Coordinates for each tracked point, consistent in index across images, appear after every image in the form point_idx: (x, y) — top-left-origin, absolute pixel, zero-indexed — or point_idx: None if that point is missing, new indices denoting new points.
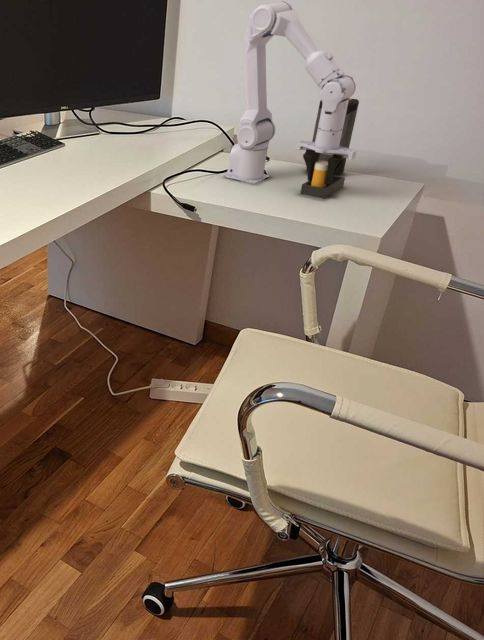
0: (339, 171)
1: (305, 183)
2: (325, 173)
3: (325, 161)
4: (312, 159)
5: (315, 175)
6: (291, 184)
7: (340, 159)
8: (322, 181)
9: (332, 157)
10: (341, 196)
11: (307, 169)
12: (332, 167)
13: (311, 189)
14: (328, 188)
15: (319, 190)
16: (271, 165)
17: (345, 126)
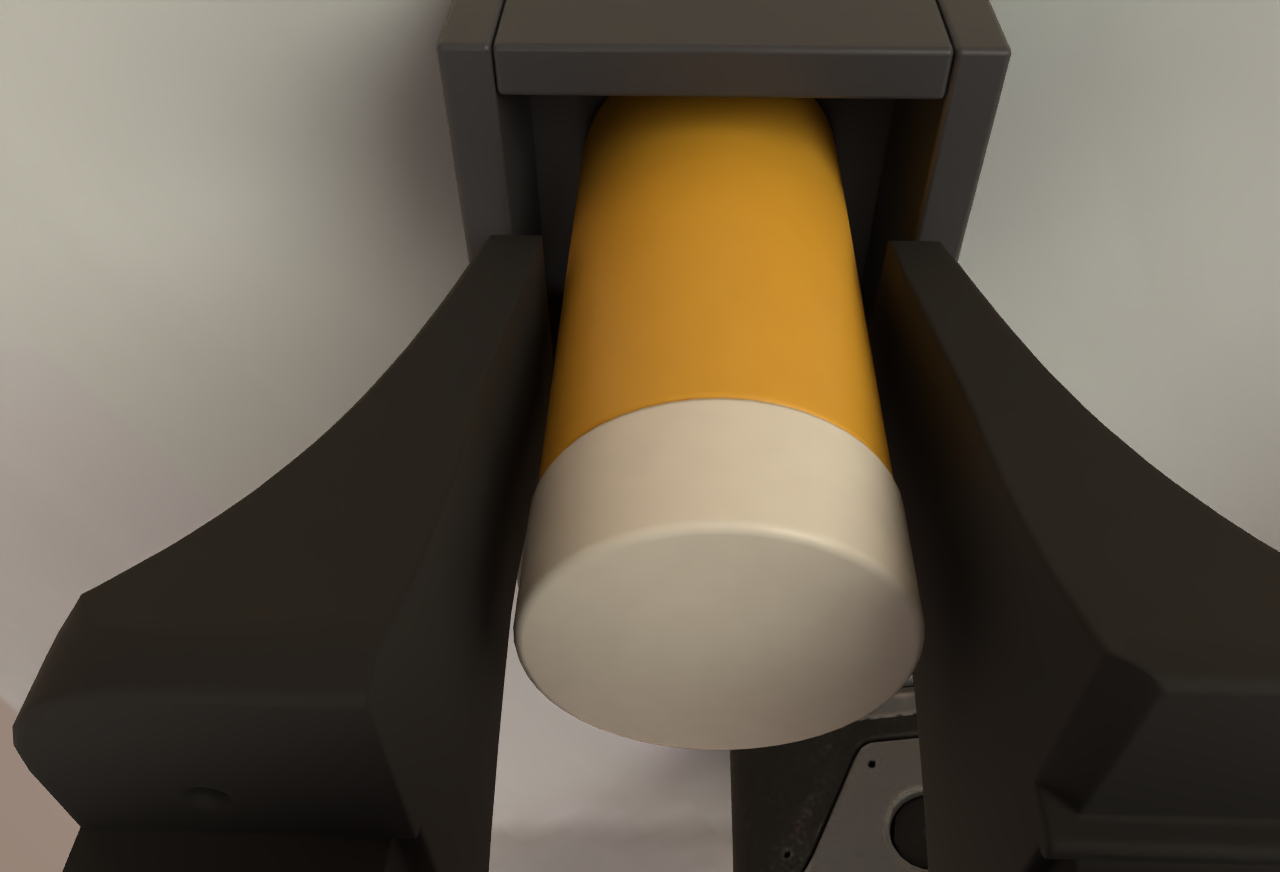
0: (746, 774)
1: (953, 141)
2: (562, 404)
3: (712, 728)
4: (1027, 640)
5: (778, 298)
6: (1228, 329)
7: (58, 788)
8: (596, 255)
9: (355, 815)
10: (370, 287)
11: (1049, 384)
12: (288, 496)
13: (749, 15)
14: (467, 202)
15: (556, 17)
16: None
17: None
